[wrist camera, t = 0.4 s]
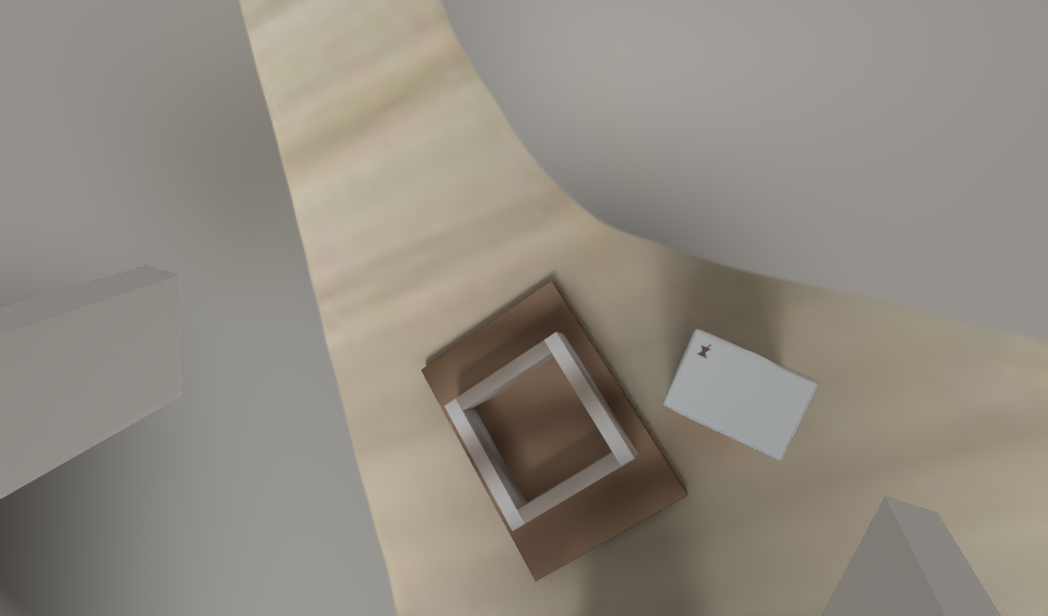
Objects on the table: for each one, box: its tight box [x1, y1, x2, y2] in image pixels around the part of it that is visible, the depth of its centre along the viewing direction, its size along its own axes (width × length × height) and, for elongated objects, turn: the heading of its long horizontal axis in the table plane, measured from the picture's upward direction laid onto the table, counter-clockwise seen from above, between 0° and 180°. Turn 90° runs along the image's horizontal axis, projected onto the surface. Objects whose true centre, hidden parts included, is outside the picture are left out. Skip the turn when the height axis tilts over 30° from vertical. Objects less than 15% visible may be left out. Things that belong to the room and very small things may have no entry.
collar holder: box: [421, 281, 687, 581], centre depth 40 cm, size 17×12×3 cm
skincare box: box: [663, 329, 819, 461], centre depth 33 cm, size 6×4×12 cm
